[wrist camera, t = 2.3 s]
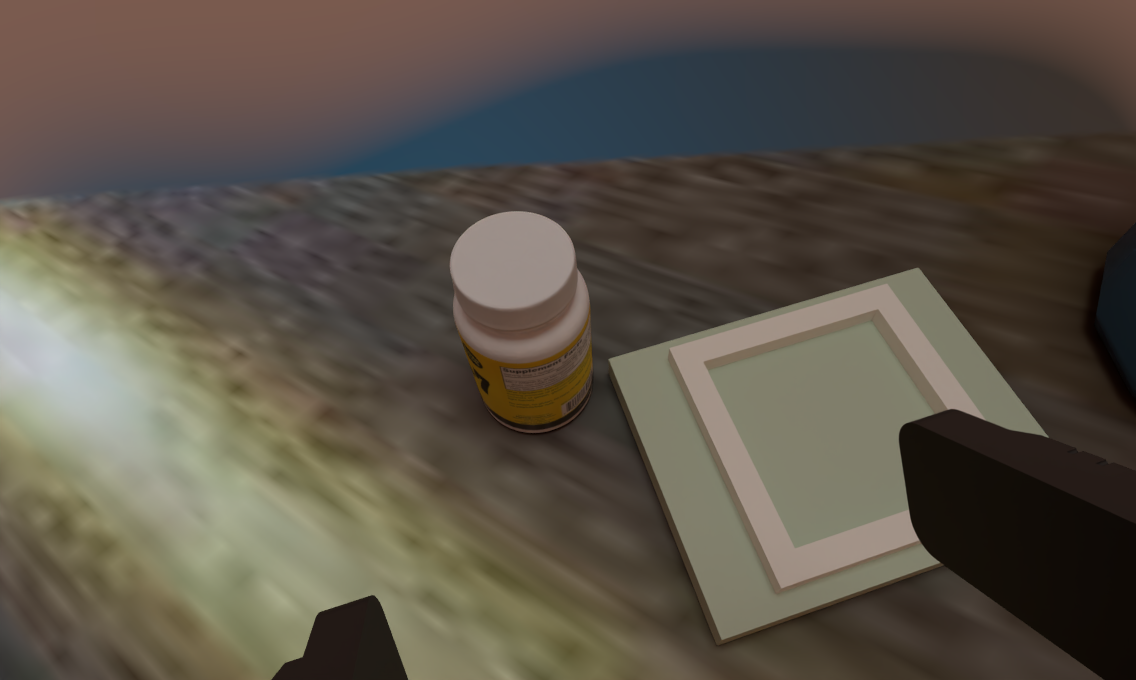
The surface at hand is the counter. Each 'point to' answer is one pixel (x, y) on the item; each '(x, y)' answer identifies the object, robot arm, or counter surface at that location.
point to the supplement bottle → (523, 319)
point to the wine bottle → (1120, 307)
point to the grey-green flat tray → (802, 443)
